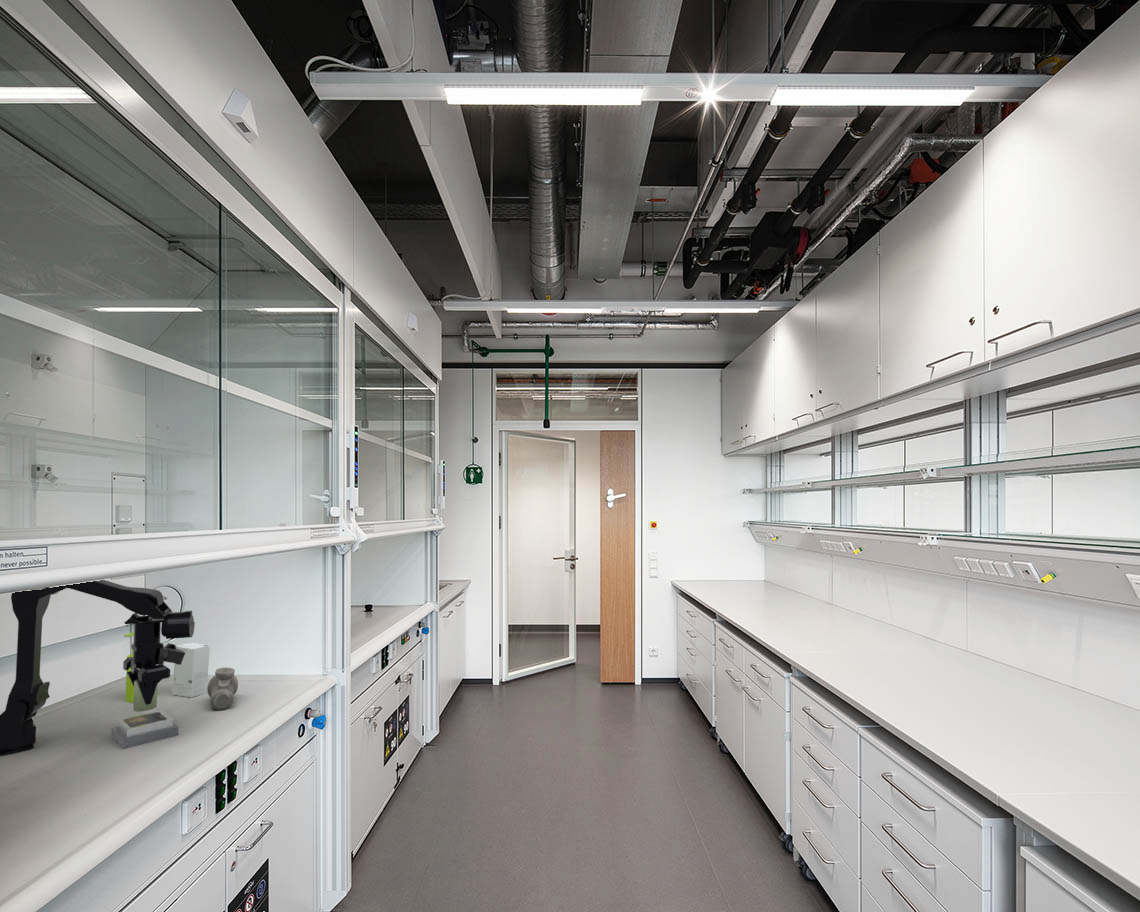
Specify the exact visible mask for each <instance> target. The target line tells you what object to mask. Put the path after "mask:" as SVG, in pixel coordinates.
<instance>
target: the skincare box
mask: <svg viewBox="0 0 1140 912" xmlns="http://www.w3.org/2000/svg"><path fill="white" fill-rule="evenodd" d="M176 649H179V650H182V651H183V652H185V655H184V658H183V660H182V663H181V665H178V664H176V663H173V674H172V675H173V676H172V690H171V694H172V696H178V697H183V698H185V697H186V698H190V699H191V698H194V697H198V696H201V695H204V694H208V691H207V689H208V682H209V681H208V679H209V666H210V665H209V664H210V649H211V645H208V644H203V643H198V642H197V643H196V642H187V643H183V644H178V645H176Z"/></svg>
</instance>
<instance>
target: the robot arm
mask: <svg viewBox="0 0 1140 912" xmlns="http://www.w3.org/2000/svg"><path fill="white" fill-rule="evenodd" d="M66 589H69V590H74V591H77V592H81V593H84V594H87V595H91V596H94V597H98V598H101V599H105V600H109V601H111V602H115V603H117V604H119V605H121V606H122V607H124V608H125V609H126V610H129V611H131V612H132V614H131V615H130V617H129V618H128V619H127V620H125V621H124V624H125V625H134V626H133V632H134V635H133V643H134V644H133V643H132V644H131V650H132V649H133V650H134V651H133V657H128V658H127V657H126V659H124V661H123V667H122V669H123V670H124V671H126V673H127V675H128V676H129V678H130V680H131V683H132V685H133V687H134V681H135V680H136V682H137V684H138V687H139V689H140V692H141V695H142V697H143V700H144V702H145V704H146V705H148V704H151V702H152V699H153V695H154V692H155V689H156V687H157V688H158V684H159V683H160V682H161V681H162V680H164V679H169V678H170V677H171V669H170V668H169V667H168V666H166V665H165V663H172V664H174V663H176V664H178V665H181V663H182V660H183V658H184V655H185V652H183V651H182V650H179V649H176V646H177V645H176V644H174V643H167V644H166V645H165V646H164V644H163V643H162V642H161V636H163V638H164V637H165V639H167V640H172V639H185V638H186V639H187V638H192V637H193V636H194V634H195V633H194V631H195V624H196V623H195V620H194V619H195V618H194V616H193V611H192V610H184V611H173V610H172V609H171V608H170V607H169V605H168V604H167V603H166V602H165V599H164V595H163V593H162V592H161V591H160V590H158V589H152V588H147V587H146V588H145V587H131V586H126V585H122V584H119V583H116V582H112V581H109V580H106V579H103V580H100V581H93V582H86V583H80V584H73V585H66V586H59V587H53V588H48V589H42V590H32V591H22V592H15V593H12V592H11V595H10V600H11V606H12V611H13V614H14V616H15V618H16V620H17V623H18V624H17V644H16V645H17V646H16V662H15V663H16V664H15V665H16V666H15V680H14V683H13V686H12V688H11V689H10V692H9V695H8V697H7V701H6V704H5V705H6V706H5V710H4V711H3V712H2V713H0V756H4V755H5V756H6V755H9V754H14V753H17V752H22V751H26V750H31V749H34V747H35V744H36V742H37V741H36V739H37V726H36V724H34V720H33V718H34V717H36V715H37V713H38V711H39V710H40V709H42V707H44V706H45V704H46V703H47V700H48V699H49V698H50V697H51V696H50V694H49V688H50V685H51V683H50V681H46V682H44V681H43V679H42V677H41V675H40V674H41V658H42V657H41V653H42V651H41V650H42V634H43V633H42V631H43V619H44V615H45V613H46V611H47V609H48V607H49V603H50V599H51V596H52V595H54V594H56V593H59V592H62V591H63V590H66ZM129 668H131V671H130V672H127V670H129Z"/></svg>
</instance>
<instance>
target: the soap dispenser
mask: <svg viewBox="0 0 1140 912" xmlns="http://www.w3.org/2000/svg"><path fill="white" fill-rule="evenodd" d="M123 637H125V638H130V637H134V631H133V632H128V633H126V634H124V635H123ZM132 644H134V642H133V643H132ZM131 651H132V652H131V654H129V655H126V659H127V658H128V657H133V651H134V650H133V649H131ZM130 671H131V668H129V670H126V677H125V679H126V680H125V702H126V703H134V687H133V685H132V683H131V680H130V678H129V676H128V675H127V672H130Z"/></svg>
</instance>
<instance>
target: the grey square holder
mask: <svg viewBox="0 0 1140 912" xmlns="http://www.w3.org/2000/svg"><path fill="white" fill-rule="evenodd" d="M179 729H180V728H179V726H178V725H177V724H176V723H174V719H173V718H172V717H171V716H170V715H169V714H168V713H166V712H165V711H164V710H162V709H161V710H156V711H151V712H147V713H142V714H138V715H133V716H129V717H123V718H119V719H117V720H116V726H113V727H110V737H111V738H112V739H113V740H114V741H115V742H116V743H117V744H118V745H119V747H121V748H122V749H127V748H130V747H135V746H140V745H143V744H148V743H151V742H156V741H160V740H163V739H167V738H172V737H175V736H179Z"/></svg>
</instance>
